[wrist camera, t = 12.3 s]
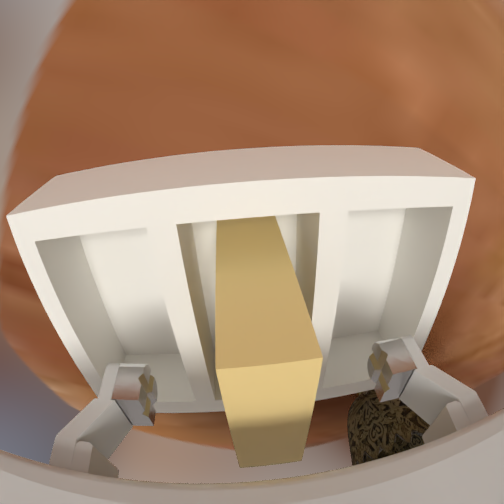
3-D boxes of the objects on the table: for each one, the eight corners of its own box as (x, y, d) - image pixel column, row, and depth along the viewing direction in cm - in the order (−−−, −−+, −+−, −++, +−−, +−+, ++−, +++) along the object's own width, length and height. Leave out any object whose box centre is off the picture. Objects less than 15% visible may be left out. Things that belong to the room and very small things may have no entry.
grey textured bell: (425, 363, 23) (462, 436, 17) (361, 408, 26) (385, 481, 19) (387, 333, 20) (432, 427, 14) (311, 389, 23) (334, 480, 16)
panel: (274, 213, 14) (323, 357, 7) (275, 328, 18) (301, 460, 11) (216, 218, 14) (215, 369, 7) (230, 333, 17) (239, 467, 11)
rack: (418, 147, 14) (475, 178, 10) (380, 335, 20) (404, 385, 17) (55, 176, 13) (6, 216, 9) (122, 360, 19) (110, 414, 16)
